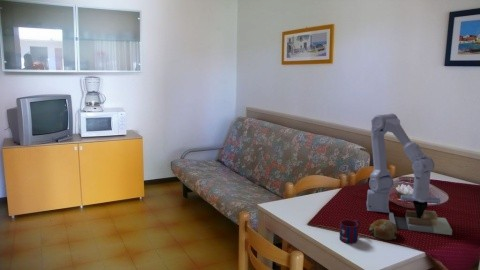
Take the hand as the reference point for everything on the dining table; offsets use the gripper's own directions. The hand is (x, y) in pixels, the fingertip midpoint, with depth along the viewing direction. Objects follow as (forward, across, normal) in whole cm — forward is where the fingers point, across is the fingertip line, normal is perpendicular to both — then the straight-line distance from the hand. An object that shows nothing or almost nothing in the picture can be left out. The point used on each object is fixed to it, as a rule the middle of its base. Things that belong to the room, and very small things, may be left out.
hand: (418, 218), depth 153 cm
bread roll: (+3, -14, -13) cm, 20 cm away
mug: (+3, -26, -20) cm, 33 cm away
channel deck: (+3, 0, 0) cm, 3 cm away
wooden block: (+1, +4, 0) cm, 4 cm away
